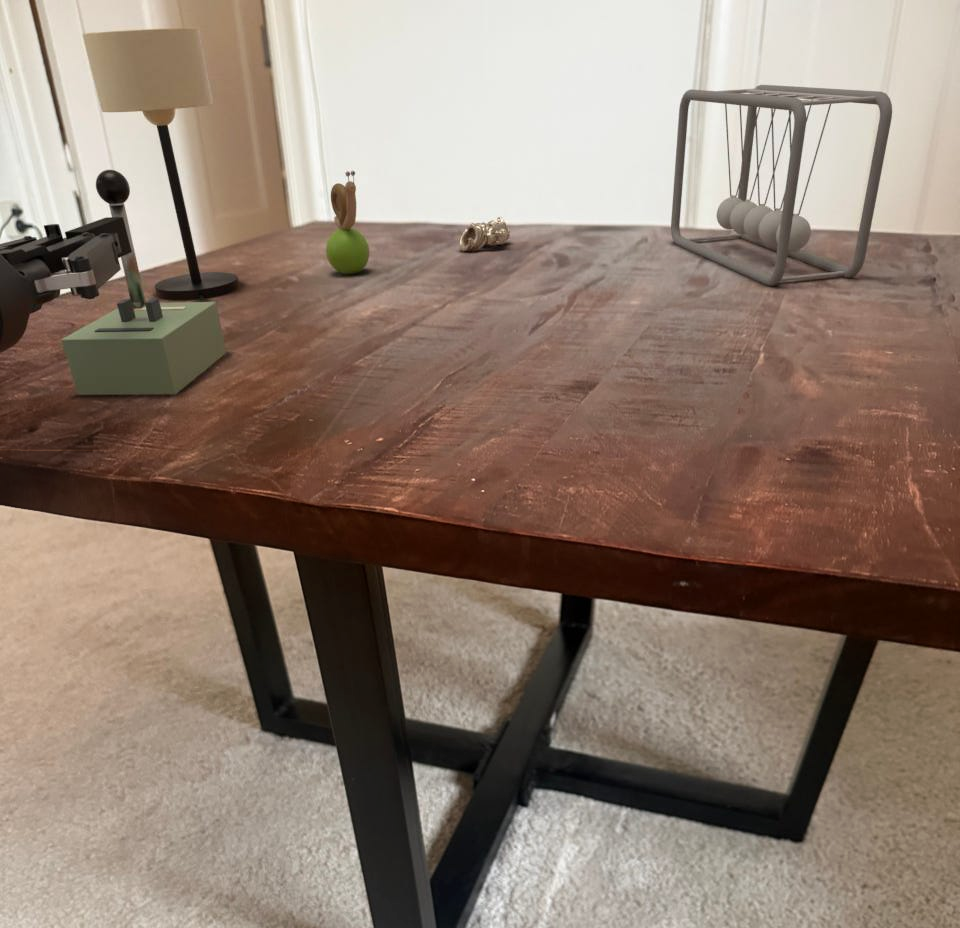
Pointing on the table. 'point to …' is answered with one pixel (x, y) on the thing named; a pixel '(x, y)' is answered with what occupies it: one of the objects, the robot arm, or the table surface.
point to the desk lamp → (159, 117)
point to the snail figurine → (346, 232)
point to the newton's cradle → (761, 221)
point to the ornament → (484, 235)
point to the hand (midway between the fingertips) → (118, 235)
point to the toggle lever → (116, 193)
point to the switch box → (145, 348)
